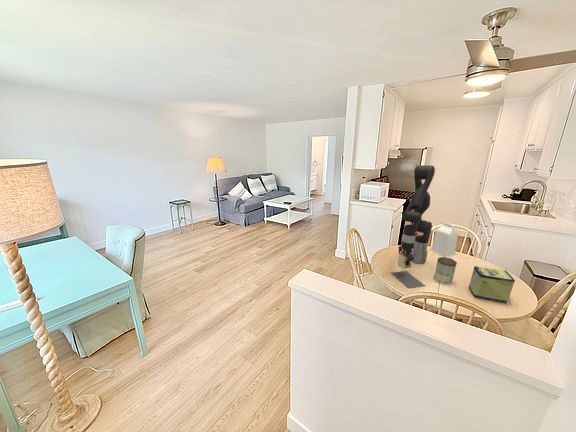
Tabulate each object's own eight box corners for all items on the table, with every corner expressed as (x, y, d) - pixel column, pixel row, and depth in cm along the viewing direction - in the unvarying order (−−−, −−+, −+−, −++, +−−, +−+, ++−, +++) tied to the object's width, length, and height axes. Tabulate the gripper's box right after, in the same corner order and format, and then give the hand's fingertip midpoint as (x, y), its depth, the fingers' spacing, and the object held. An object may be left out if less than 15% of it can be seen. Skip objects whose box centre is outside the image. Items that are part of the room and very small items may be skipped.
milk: (431, 251, 188) (436, 222, 180) (440, 248, 192) (446, 220, 184) (445, 257, 177) (451, 227, 169) (454, 254, 181) (461, 224, 173)
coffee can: (432, 274, 155) (435, 256, 150) (449, 276, 151) (453, 258, 147) (436, 282, 145) (440, 263, 141) (454, 285, 142) (459, 265, 138)
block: (406, 264, 154) (408, 251, 151) (410, 267, 150) (413, 254, 147) (397, 265, 153) (399, 252, 150) (401, 268, 149) (403, 255, 146)
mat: (406, 271, 159) (406, 270, 159) (425, 286, 142) (425, 285, 142) (391, 273, 157) (391, 272, 157) (408, 288, 140) (408, 287, 140)
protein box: (507, 303, 125) (515, 280, 120) (473, 297, 131) (480, 274, 126) (499, 292, 134) (506, 270, 129) (468, 287, 140) (473, 265, 135)
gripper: (421, 244, 140) (416, 268, 145) (406, 236, 153) (402, 258, 158) (410, 245, 139) (406, 269, 144) (396, 236, 152) (393, 259, 157)
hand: (404, 263), depth 151 cm, fingers closed on block, 4 cm apart
